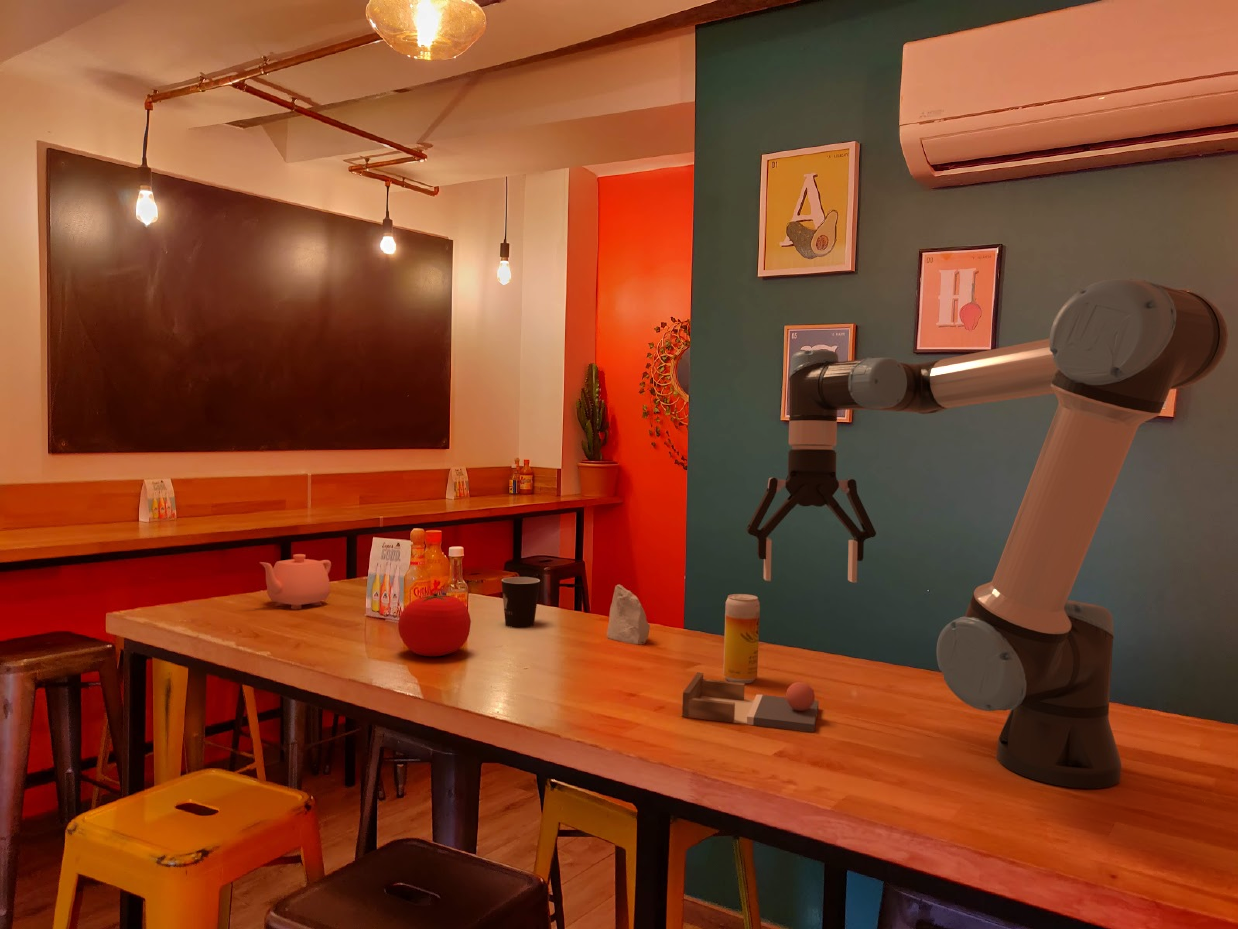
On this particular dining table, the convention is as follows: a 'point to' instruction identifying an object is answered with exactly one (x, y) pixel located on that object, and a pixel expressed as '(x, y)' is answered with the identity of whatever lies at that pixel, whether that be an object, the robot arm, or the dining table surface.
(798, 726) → the lane mat
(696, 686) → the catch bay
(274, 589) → the teapot
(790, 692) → the ball
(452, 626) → the tomato
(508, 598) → the coffee mug
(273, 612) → the dining table surface
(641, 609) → the stone
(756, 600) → the beer can
